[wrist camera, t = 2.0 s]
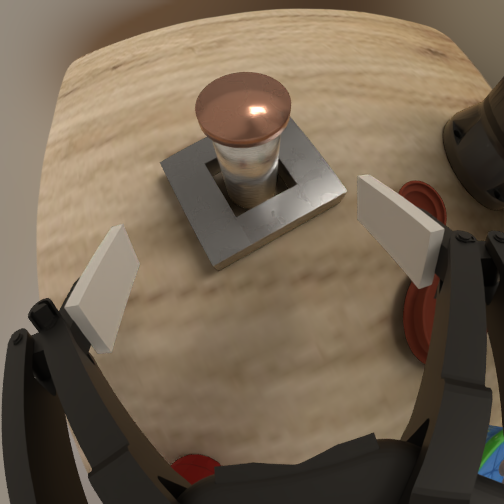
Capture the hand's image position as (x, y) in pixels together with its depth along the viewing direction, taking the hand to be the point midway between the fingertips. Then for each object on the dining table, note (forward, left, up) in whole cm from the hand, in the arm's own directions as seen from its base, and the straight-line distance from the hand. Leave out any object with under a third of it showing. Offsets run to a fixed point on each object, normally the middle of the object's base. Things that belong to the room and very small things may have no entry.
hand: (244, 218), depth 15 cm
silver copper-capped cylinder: (-4, -7, -12) cm, 14 cm away
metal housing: (-4, -7, -12) cm, 14 cm away
